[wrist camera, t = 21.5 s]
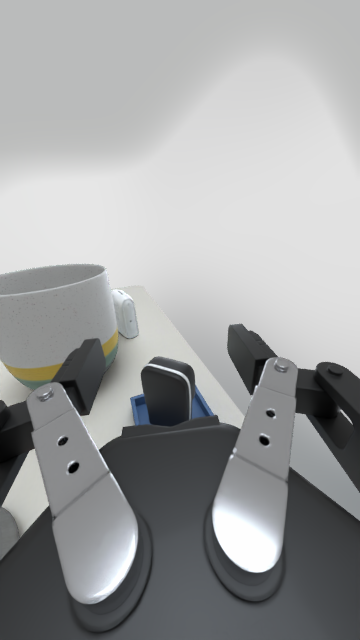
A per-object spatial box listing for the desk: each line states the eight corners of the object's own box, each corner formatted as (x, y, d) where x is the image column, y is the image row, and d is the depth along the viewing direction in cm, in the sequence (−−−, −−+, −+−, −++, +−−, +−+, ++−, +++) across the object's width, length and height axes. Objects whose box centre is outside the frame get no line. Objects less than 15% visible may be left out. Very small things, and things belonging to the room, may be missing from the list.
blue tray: (223, 442, 28) (224, 432, 27) (145, 477, 24) (143, 466, 23) (191, 387, 37) (191, 378, 36) (132, 407, 34) (130, 397, 33)
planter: (144, 375, 41) (127, 272, 31) (34, 441, 29) (-47, 310, 20) (104, 340, 54) (83, 260, 44) (17, 376, 42) (-37, 278, 33)
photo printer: (141, 334, 56) (134, 293, 50) (127, 340, 53) (119, 297, 48) (125, 322, 63) (118, 285, 57) (112, 327, 61) (103, 288, 55)
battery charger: (198, 419, 31) (198, 360, 26) (189, 442, 28) (186, 380, 23) (160, 405, 33) (152, 349, 28) (147, 424, 30) (136, 365, 25)
